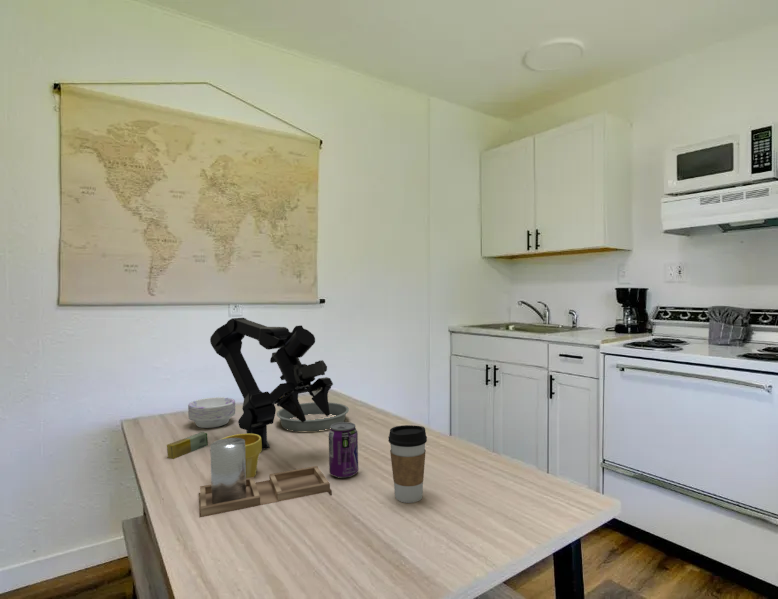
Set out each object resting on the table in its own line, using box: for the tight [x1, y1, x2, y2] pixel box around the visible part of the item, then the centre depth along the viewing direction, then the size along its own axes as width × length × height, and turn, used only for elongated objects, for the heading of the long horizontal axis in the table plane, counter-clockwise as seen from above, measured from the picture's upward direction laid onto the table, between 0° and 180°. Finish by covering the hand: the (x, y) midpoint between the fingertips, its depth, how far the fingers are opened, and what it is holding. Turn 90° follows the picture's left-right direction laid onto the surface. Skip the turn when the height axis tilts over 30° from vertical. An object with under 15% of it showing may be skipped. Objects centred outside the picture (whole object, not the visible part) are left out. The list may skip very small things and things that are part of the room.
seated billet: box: [209, 438, 246, 504], centre depth 97 cm, size 7×7×12 cm
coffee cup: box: [388, 425, 428, 504], centre depth 98 cm, size 8×8×15 cm
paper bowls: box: [187, 396, 236, 429], centre depth 156 cm, size 15×15×8 cm
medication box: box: [166, 431, 209, 460], centre depth 130 cm, size 12×3×4 cm, turn 153°
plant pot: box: [221, 433, 263, 478], centre depth 109 cm, size 10×10×10 cm
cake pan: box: [276, 401, 350, 432], centre depth 156 cm, size 25×25×4 cm
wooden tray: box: [198, 465, 333, 518], centre depth 100 cm, size 12×27×2 cm, turn 113°
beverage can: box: [328, 421, 359, 479], centre depth 111 cm, size 7×7×12 cm
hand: (316, 418), depth 116 cm, fingers open, 9 cm apart
